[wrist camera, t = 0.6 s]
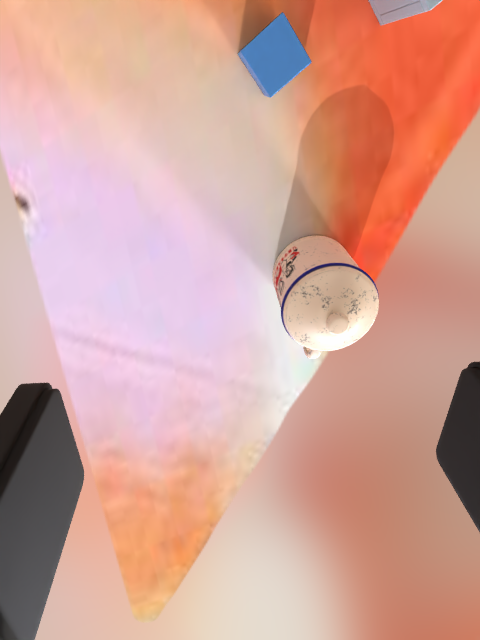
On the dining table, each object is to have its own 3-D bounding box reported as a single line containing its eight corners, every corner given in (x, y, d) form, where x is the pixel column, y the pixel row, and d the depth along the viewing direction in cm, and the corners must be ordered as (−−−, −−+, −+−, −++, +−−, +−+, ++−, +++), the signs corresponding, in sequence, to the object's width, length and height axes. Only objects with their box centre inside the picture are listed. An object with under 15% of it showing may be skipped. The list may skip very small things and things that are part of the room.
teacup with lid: (275, 229, 43) (294, 275, 33) (360, 234, 44) (404, 281, 34) (262, 327, 49) (276, 392, 39) (337, 330, 50) (369, 394, 40)
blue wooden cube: (237, 53, 35) (240, 51, 32) (275, 18, 34) (283, 11, 30) (265, 96, 37) (270, 97, 33) (302, 63, 36) (312, 62, 32)
